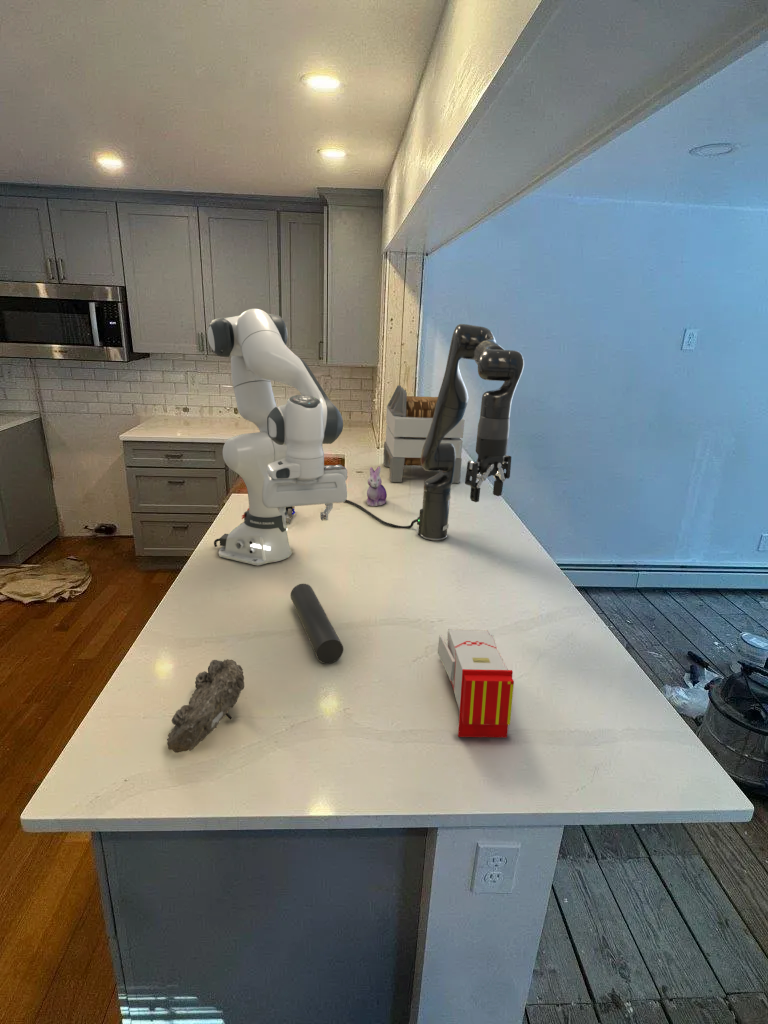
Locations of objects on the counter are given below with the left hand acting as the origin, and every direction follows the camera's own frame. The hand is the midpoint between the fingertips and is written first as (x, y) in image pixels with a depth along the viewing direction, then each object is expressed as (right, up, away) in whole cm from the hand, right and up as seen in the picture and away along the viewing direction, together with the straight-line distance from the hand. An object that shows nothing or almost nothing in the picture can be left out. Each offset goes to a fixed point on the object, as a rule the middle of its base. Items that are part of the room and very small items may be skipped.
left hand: (305, 521), depth 138 cm
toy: (+37, -35, -19) cm, 55 cm away
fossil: (-14, -37, -30) cm, 49 cm away
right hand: (+45, +6, +5) cm, 45 cm away
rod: (+2, -27, 0) cm, 27 cm away
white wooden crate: (+36, +21, +137) cm, 144 cm away
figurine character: (-17, 0, +72) cm, 74 cm away
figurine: (+16, +6, +92) cm, 94 cm away
